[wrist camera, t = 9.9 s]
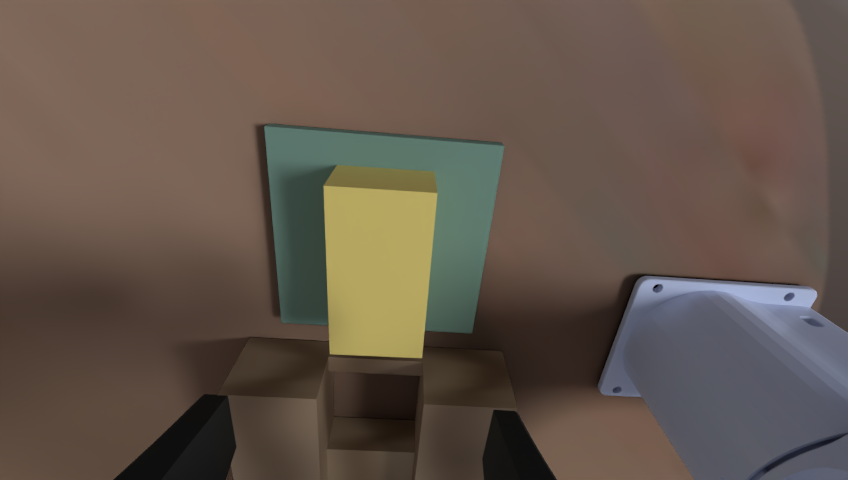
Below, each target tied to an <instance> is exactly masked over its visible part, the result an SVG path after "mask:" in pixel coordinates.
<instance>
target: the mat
mask: <svg viewBox="0 0 848 480" xmlns="http://www.w3.org/2000/svg"><path fill="white" fill-rule="evenodd" d="M264 130H265V141H266V153H267V164H268V175H269V187H270V198H271V210H272V221H273V232H274V244H275V255H276V267H277V278H278V289H279V301H280V312H281V323H297V324H314V325H329V320H328V293H327V266H326V240H325V213H324V184H325V183H326V181H327V180H328V178H329V177H330V175H331V173H332V172H333V170H334V169H335V167H336V166H337V165H345V166H360V167H374V168H389V169H404V170H419V171H434V172H435V179H436V186H437V204H436V215H435V225H434V236H433V247H432V258H431V268H430V279H429V290H428V300H427V311H426V322H425V331H438V332H455V333H472V332H473V326H474V320H475V314H476V308H477V302H478V297H479V291H480V285H481V279H482V273H483V268H484V262H485V256H486V250H487V244H488V238H489V233H490V227H491V221H492V215H493V209H494V204H495V198H496V192H497V186H498V180H499V175H500V169H501V163H502V157H503V151H504V145H503V144H502V143H499V142H487V141H475V140H462V139H450V138H438V137H426V136H414V135H401V134H389V133H377V132H365V131H353V130H341V129H328V128H316V127H304V126H292V125H280V124H267V125H266V126H264Z"/></svg>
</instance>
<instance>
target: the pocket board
mask: <svg viewBox="0 0 848 480" xmlns="http://www.w3.org/2000/svg"><path fill="white" fill-rule="evenodd" d="M333 372H352V373H372V374H392V375H411V376H420V377H419V386H418V396H417V405H416V414H415V420H393V419H371V418H349V417H334V388H333ZM217 395H227V396H228V399H229V405H230V411H231V417H232V423H233V429H234V435H235V441H236V450H235V453H234V456H233V459H232V462H231V469H232V474H233V479H234V480H484V474H483V462H482V457H483V453H484V449H485V444H486V440H487V436H488V432H489V427H490V423H491V419H492V414H493V410H508V411H516V412H517V411H518V407H517V403H516V400H515V396H514V392H513V389H512V385H511V382H510V378H509V374H508V371H507V367H506V364H505V360H504V356H503V353H502V351H492V350H474V349H455V348H437V347H423V354H422V358H404V357H381V356H359V355H337V354H330V346H329V342H327V341H309V340H291V339H273V338H254V337H250V338H249V339H248V341H247V343H246V345H245V346H244V348H243V350H242V352H241V353H240V355H239V357H238V359H237V361H236V362H235V364H234V366H233V368H232V369H231V371H230V373H229V375H228V376H227V378H226V380H225V382H224V383H223V385H222V387H221V389H220V390H219V392H218V394H217Z"/></svg>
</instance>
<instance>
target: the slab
mask: <svg viewBox="0 0 848 480" xmlns="http://www.w3.org/2000/svg"><path fill="white" fill-rule="evenodd" d="M436 204H437V186H436V179H435V172H434V171H419V170H404V169H389V168H374V167H360V166H345V165H337V166H336V167H335V169H334V170H333V172H332V173H331V175H330V177H329V178H328V180H327V181H326V183H325V184H324V213H325V240H326V266H327V293H328V320H329V346H330V354H337V355H359V356H381V357H404V358H422V354H423V343H424V333H425V322H426V311H427V300H428V290H429V279H430V268H431V258H432V247H433V236H434V225H435V215H436Z"/></svg>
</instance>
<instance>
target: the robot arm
mask: <svg viewBox="0 0 848 480" xmlns="http://www.w3.org/2000/svg"><path fill="white" fill-rule="evenodd" d="M657 284H659V285H658V286H657V287H656V288H653V287H654V286H655V285H657ZM816 297H817V292H816V291H815V290H814V289H812V288H810V287H807V286H795V285H780V284H765V283H750V282H734V281H719V280H704V279H689V278H674V277H659V276H643V277H641V278H639V279H638V280H637V282H636V283H635V286H634V288H633V291H632V294H631V296H630V299H629V302H628V305H627V307H626V310H625V313H624V315H623V318H622V321H621V324H620V326H619V329H618V332H617V334H616V337H615V340H614V342H613V345H612V348H611V351H610V353H609V356H608V359H607V361H606V364H605V367H604V369H603V372H602V375H601V378H600V380H599V383H598V389H599V391H600V392H601V393H602V394H603V395H614V396H634V397H642V398H643V400H644V401H645V403H646V405H647V406H648V408H649V409H650V411H651V412H652V414H653V415H654V417H655V419H656V420H657V422H658V423H659V425H660V426H661V428H662V430H663V431H664V433H665V434H666V436H667V437H668V439H669V441H670V442H671V444H672V445H673V447H674V448H675V450H676V452H677V453H678V455H679V456H680V458H681V459H682V461H683V463H684V464H685V466H686V467H687V469H688V470H689V472H690V474H691V475H692V477H693V478H694V480H848V333H847V332H845V331H844V330H842V329H841V328H839V327H838V326H836V325H835V324H833V323H832V322H830V321H829V320H827V319H826V318H824V317H823V316H821V315H820V314H819V313H817V312H816V311H814V310H813V309H811V308H810V307H811V306H812V304H813V302H814V301H815V299H816ZM615 387H616V388H615ZM235 450H236V441H235V435H234V429H233V423H232V417H231V411H230V405H229V399H228V396H227V395H208V394H204V395H203V396H202V397H201V398H200V399H199V400H198V401H197V402H195V403H194V404H193V405H192V406H191V407H190V408H189V409H188V410H187V411H186V412H185V413H184V414H183V415H182V416H181V417H180V418H179V419H178V420H177V421H176V422H175V423H174V424H173V425H172V426H171V427H170V428H169V429H168V430H167V431H166V432H165V433H163V434H162V435H161V436H160V437H159V438H158V439H157V440H156V441H155V442H154V443H153V444H152V445H151V446H150V447H149V448H148V449H146V450H145V451H144V452H143V453H142V454H141V455H140V456H139V457H138V458H137V459H136V460H135V461H133V462H132V463H131V464H130V465H129V466H128V467H127V468H126V469H125V470H124V471H123V472H121V473H120V474H119V475H118V476H117V477H116V478H115V479H114V480H226V477H227V474H228V471H229V468H230V465H231V462H232V459H233V456H234V453H235ZM482 462H483V474H484V480H557V479H556V478H555V476H554V475H553V473H552V471H551V470H550V468H549V467H548V465H547V463H546V462H545V460H544V458H543V457H542V455H541V453H540V452H539V450H538V448H537V447H536V445H535V443H534V442H533V440H532V438H531V436H530V435H529V433H528V431H527V429H526V427H525V426H524V424H523V422H522V420H521V418H520V416H519V415H518V413H517V412H516V411H508V410H493V414H492V419H491V423H490V427H489V432H488V436H487V440H486V444H485V449H484V453H483V457H482Z"/></svg>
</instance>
